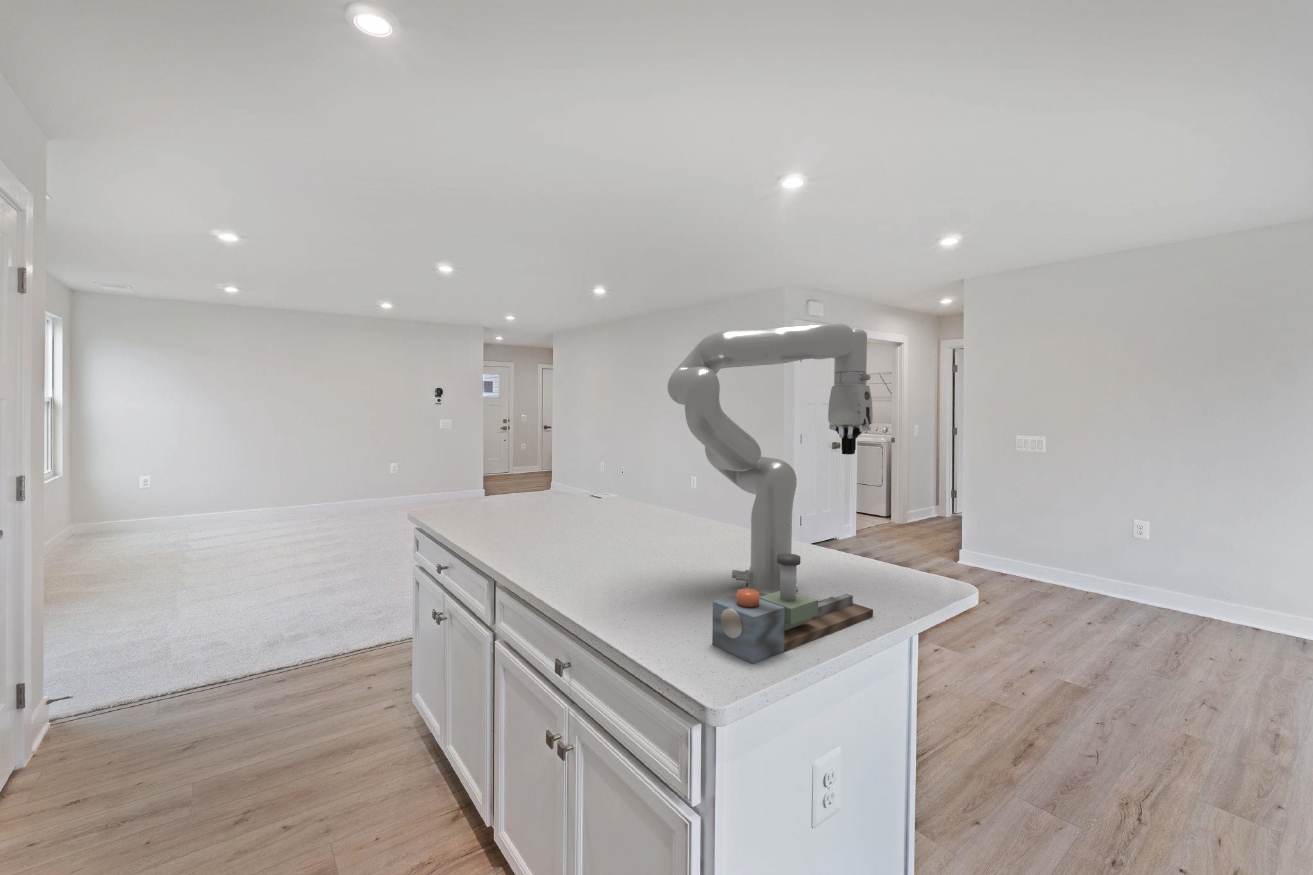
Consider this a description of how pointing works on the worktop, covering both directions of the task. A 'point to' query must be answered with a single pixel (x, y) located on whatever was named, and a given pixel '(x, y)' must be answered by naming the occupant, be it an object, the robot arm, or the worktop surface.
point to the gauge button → (748, 597)
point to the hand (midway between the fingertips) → (848, 453)
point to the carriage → (792, 594)
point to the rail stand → (777, 625)
